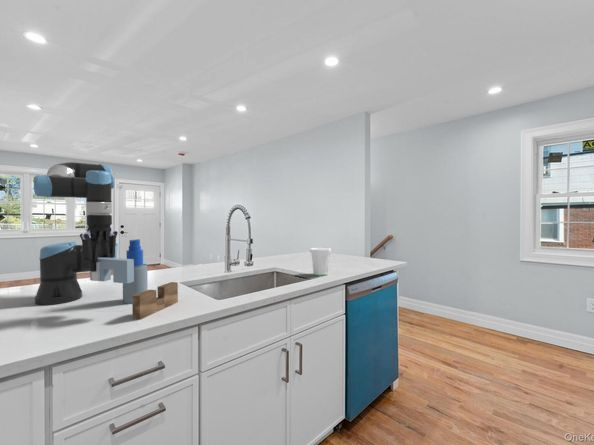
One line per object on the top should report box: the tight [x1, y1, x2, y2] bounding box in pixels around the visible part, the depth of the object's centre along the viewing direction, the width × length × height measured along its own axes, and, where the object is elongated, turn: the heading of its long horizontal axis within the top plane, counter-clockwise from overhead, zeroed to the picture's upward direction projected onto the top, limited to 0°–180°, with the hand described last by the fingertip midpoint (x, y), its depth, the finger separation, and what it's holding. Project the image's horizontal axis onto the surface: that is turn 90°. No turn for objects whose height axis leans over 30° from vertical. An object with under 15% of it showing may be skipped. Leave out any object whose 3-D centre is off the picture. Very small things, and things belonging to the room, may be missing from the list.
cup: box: [309, 247, 332, 277], centre depth 172 cm, size 12×12×15 cm
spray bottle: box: [122, 239, 149, 305], centre depth 120 cm, size 9×9×25 cm
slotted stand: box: [131, 281, 179, 320], centre depth 108 cm, size 3×20×8 cm, turn 166°
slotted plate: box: [89, 257, 134, 284], centre depth 104 cm, size 16×3×8 cm, turn 76°
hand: (100, 278), depth 106 cm, fingers closed on slotted plate, 3 cm apart
